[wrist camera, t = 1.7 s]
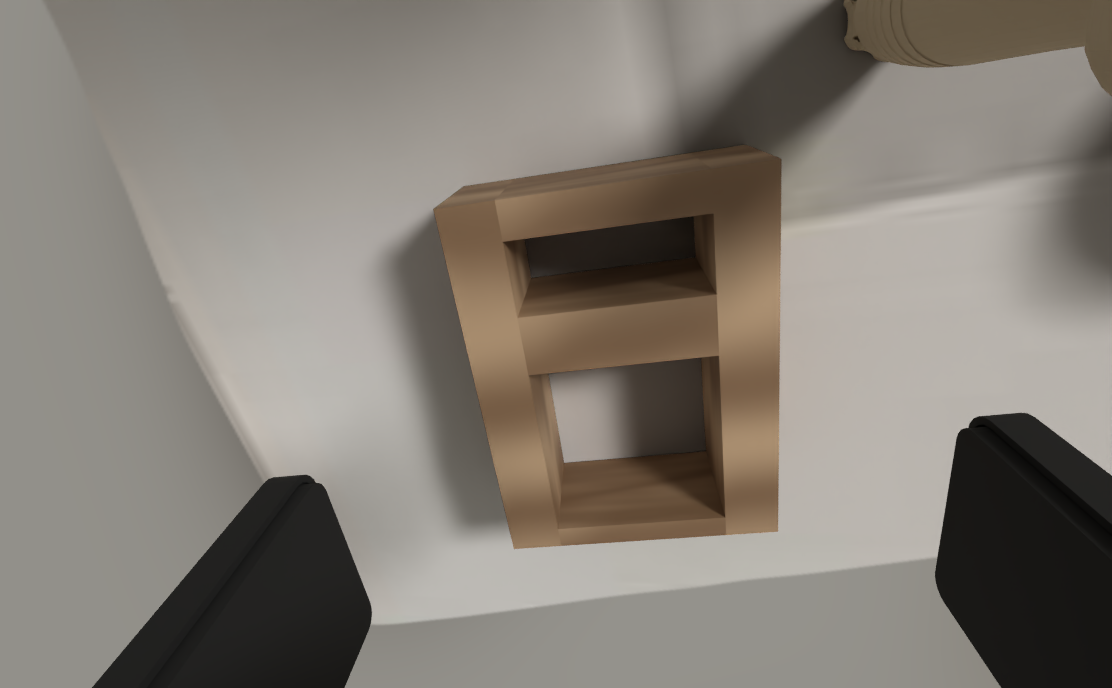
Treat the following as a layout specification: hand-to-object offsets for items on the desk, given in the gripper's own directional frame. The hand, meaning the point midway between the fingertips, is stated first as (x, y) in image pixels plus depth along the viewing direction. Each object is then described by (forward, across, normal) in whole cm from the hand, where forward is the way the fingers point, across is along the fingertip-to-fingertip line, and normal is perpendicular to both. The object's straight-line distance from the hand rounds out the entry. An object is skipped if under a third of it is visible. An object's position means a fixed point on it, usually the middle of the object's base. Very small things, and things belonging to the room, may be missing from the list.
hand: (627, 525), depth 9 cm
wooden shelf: (+18, 0, +5) cm, 19 cm away
